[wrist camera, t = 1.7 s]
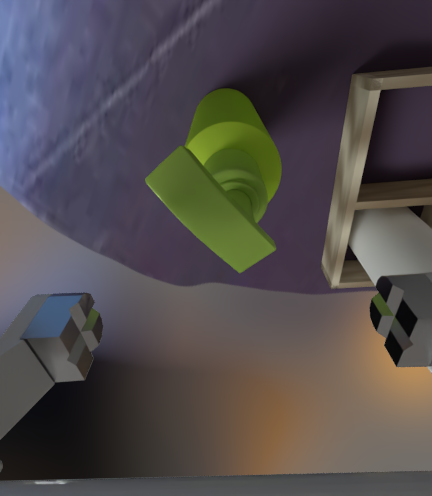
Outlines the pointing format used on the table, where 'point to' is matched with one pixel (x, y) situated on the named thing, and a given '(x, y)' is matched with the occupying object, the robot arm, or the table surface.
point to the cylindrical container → (391, 242)
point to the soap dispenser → (223, 178)
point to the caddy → (351, 169)
